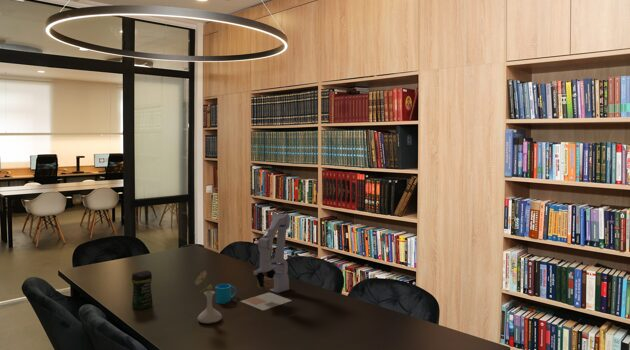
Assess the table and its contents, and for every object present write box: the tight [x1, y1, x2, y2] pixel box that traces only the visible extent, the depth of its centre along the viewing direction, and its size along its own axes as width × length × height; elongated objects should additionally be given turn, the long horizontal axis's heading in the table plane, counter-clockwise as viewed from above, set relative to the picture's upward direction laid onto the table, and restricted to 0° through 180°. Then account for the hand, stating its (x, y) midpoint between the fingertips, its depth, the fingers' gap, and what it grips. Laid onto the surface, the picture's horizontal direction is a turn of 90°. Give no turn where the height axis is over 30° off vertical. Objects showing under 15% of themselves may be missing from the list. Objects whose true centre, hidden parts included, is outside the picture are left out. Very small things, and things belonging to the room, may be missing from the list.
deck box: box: [256, 275, 274, 291], centre depth 244 cm, size 8×5×5 cm, turn 46°
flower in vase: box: [194, 270, 223, 324], centre depth 217 cm, size 13×11×25 cm
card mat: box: [240, 291, 293, 311], centre depth 244 cm, size 20×19×1 cm
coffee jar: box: [131, 270, 153, 310], centre depth 236 cm, size 10×8×19 cm
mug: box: [215, 283, 237, 305], centre depth 247 cm, size 12×8×8 cm
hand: (265, 285), depth 244 cm, fingers closed on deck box, 5 cm apart
